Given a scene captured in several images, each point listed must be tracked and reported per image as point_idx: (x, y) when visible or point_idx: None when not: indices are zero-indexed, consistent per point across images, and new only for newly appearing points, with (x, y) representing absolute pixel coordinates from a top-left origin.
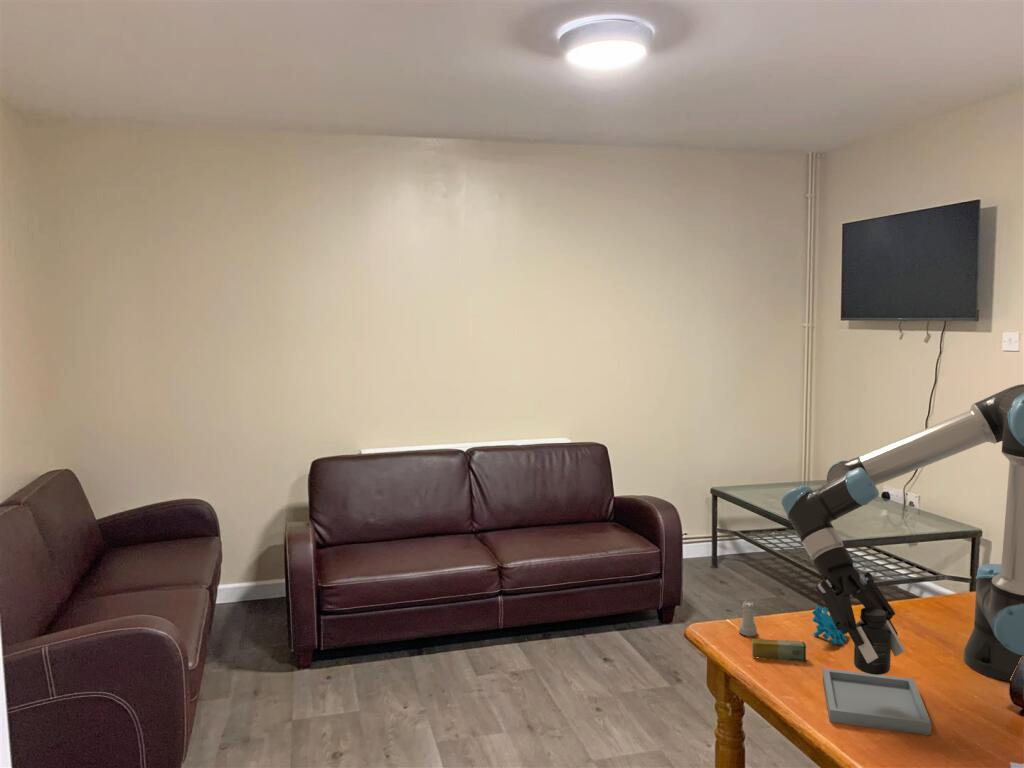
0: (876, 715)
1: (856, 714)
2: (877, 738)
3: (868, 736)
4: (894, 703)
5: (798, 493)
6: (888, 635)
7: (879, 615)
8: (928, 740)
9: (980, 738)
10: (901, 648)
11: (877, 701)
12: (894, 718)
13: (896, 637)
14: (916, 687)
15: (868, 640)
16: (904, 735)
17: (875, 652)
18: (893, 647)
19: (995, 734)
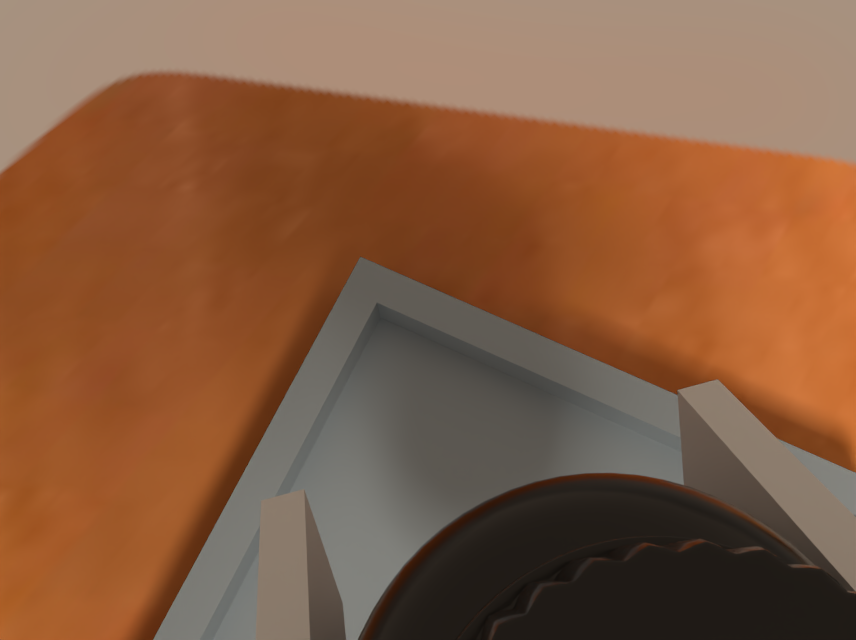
0: (633, 382)
1: None
2: (663, 305)
3: (702, 329)
4: (376, 589)
5: None
6: (490, 501)
7: (701, 584)
8: (408, 249)
9: (136, 225)
10: (305, 512)
11: None
12: (540, 336)
13: (285, 621)
14: None
15: (794, 520)
16: (502, 308)
17: (704, 423)
18: (335, 630)
19: (31, 245)
